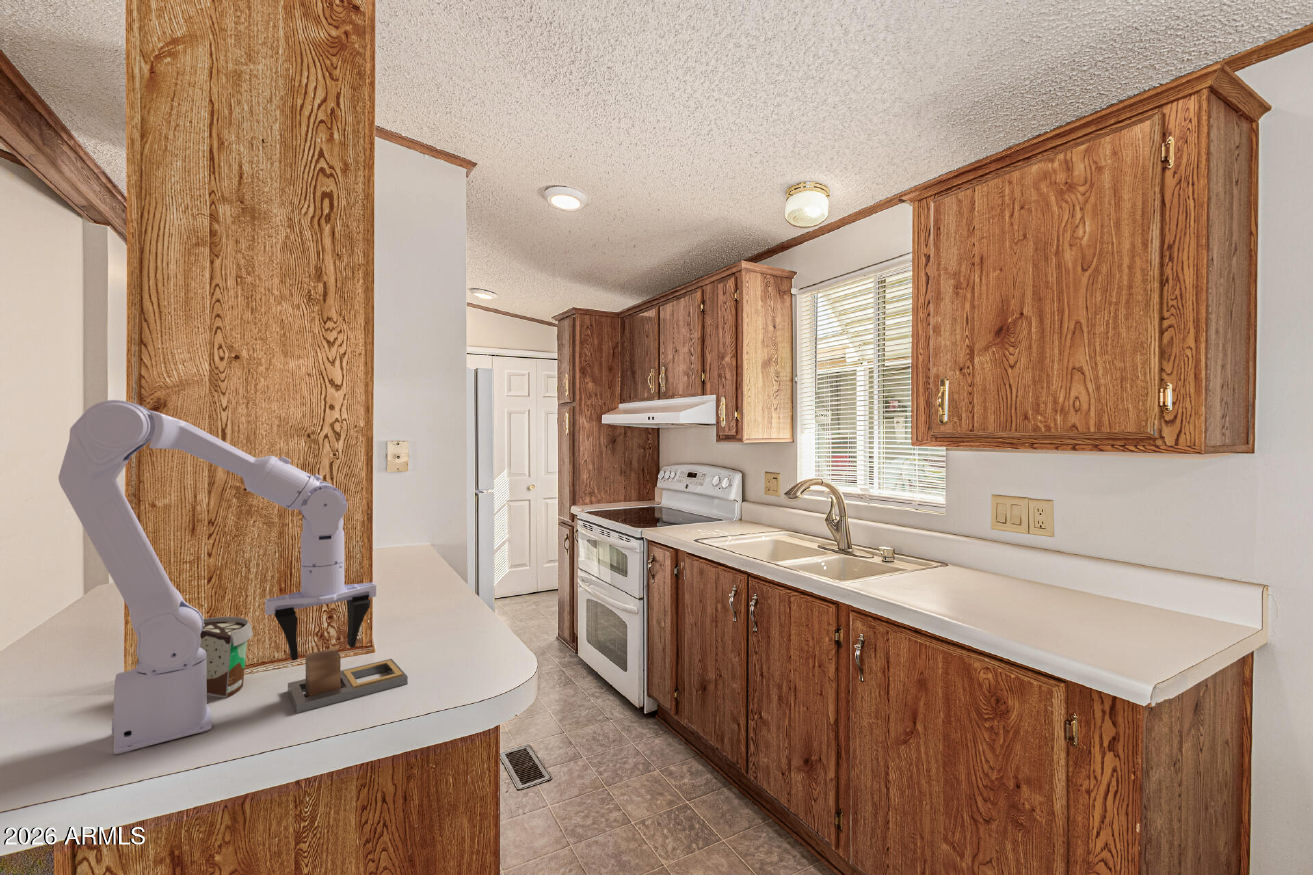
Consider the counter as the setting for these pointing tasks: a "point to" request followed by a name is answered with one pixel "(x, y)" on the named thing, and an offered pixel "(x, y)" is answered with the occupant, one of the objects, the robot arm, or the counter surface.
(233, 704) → the counter surface
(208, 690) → the food container
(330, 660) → the brown wooden block
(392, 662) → the grey slotted tray
